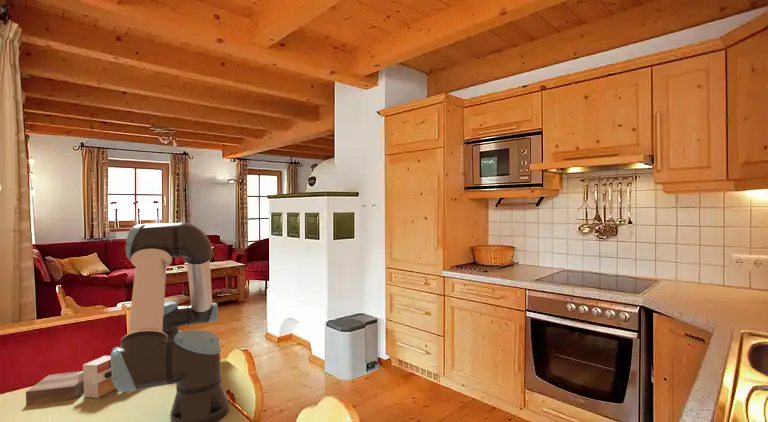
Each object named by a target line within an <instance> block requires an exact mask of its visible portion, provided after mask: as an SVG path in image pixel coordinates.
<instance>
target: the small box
mask: <svg viewBox="0 0 768 422" xmlns="http://www.w3.org/2000/svg"><path fill="white" fill-rule="evenodd" d="M109 368H111V355H103V356H101V357H99V358H96V359H93V360H91V361H88V362H86V363H84V364H82V371H83V382H84V391H83V397H84V398H91V399H92V398H93V399H99V398H101V397H103V396H104V395H107V394H108V393H110V392H113V391H114V390H117V389H116V388H115V385H114V382H113V378H112V377H110V378H108V379H106V380H104V381H102V382H99V383H97V384H95V385H94V384H93V375H95V374H98V373H100V372H102V371H105V370H107V369H109Z"/></svg>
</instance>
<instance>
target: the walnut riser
mask: <svg viewBox="0 0 768 422" xmlns="http://www.w3.org/2000/svg"><path fill="white" fill-rule="evenodd" d="M82 371H83V370H81V371H80V370H79V371H71V372H70V371H69V372H63V373H54V374H53V373H52V374H48V375H47V376H45V377H43V379H42V380H39V382H37V383H35V384H34V385H33V386H32V387H31V388H29V389H28V390H26V391H25V403H26V406H30V405H36V404H43V403H44V404H45V403H52V402H61V401H68V400H75V399H77V398H78V397H79V396H80V395H81V394H82V393H84V382H83V381H81V382H79V383H78V382H77V373H80V372H82Z"/></svg>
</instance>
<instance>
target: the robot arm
mask: <svg viewBox="0 0 768 422" xmlns="http://www.w3.org/2000/svg"><path fill="white" fill-rule="evenodd" d="M125 244H126V245H125V254H126V258H127V259H128V260H130V262H131V265H133V266H134V267H135V268H134V270H135V271H134V277H133V284H132V285H133V286H132V287H133V288H132V297H131V303H130V313H129V323H128V329H127V334H125V335H123V337H121V338H120V342H119V343H120V344H119V346H116V347H113V348H112V349H111V352H110V356H111V368H109V369H107V370H105V371H102V372H100V373H98V374H95V375H93V384H94V385H95V384H97V383H99V382H102V381H104V380H106V379H108V378H110V377H112V378H113V382H114V385H115V388H116V389H115V390H117V391H118V392H121V393H125V392H132V391H135V392H138V391H140V390H145V389H151V388H156V387H161V386H168V385H173V384H175V385H176V388H175V389H176V392H175V395H174V400H173V403H172V406H171V409H170V413H169V414H170V415H169V418H170V422H218V421H219V420H221V419H222V418H224V417H225V416H226V415H227V414H228V412H229V410H230V409H229V407H230V406H229V398H228V396H227V394H226V391H225V389H224V387H223V383H222V369H221V368H222V365H221V352H222V350H221V349H222V348H221V342H220V338H219V336H218V334H216V333H215V332H212V331H207V330H203V329H202V330H201V329H198V330H196V329H195V330H194V329H193V330H192V329H191V330H186V331H182V330H180V329H179V327H183V326H191V325H198V324H208V323H214V322H217V321H218V320H219V308H218V305H219V304H218V303H217V302H213V297H212V296H213V295H212V291H213V289H212V278H211V276H212V275H211V259H212V258H213V247H212V243H211V241H210V239H209V238H208V236H207V235H206V233H205V232H203V230H201V229H200V228H199V227H197V226H196V225H193V224H191V223H189V222H183V221H182V222H166V223H165V222H164V223H163V222H162V223H142V224H135V225H133V226H132V227H131V228H130V229H129V231H128V232H127V236H126V241H125ZM180 257H182V259H183V261H184V262H185V263H186V266H187V269H186V270H187V279H188V287H189V297H190V305H181V306H179V305H178V302H176V301H165V297H166V295H165V294H166V278H167V267H169V266H170V265H171V263H172V262H173V258H180ZM81 371H82V372H80V373H77V382H78V383H79V382H81V381H83V370H81Z"/></svg>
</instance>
